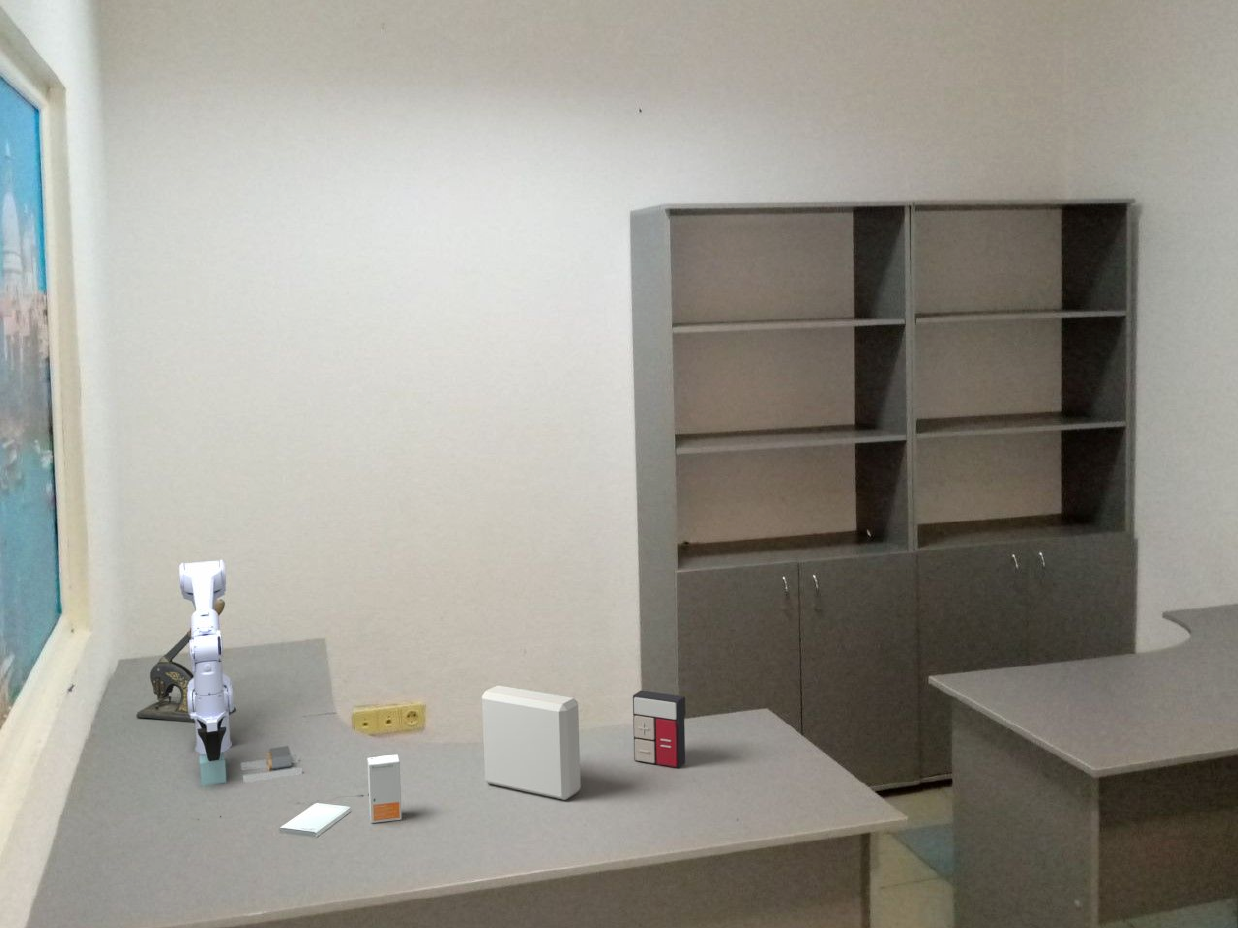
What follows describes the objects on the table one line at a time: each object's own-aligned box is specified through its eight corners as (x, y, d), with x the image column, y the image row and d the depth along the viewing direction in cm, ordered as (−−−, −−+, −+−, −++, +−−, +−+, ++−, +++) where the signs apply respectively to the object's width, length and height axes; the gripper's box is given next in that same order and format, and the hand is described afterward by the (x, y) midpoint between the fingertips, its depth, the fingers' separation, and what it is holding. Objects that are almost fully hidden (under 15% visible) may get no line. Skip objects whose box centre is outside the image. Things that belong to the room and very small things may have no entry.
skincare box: (371, 824, 228) (368, 764, 227) (369, 815, 232) (366, 756, 231) (402, 820, 230) (400, 760, 228) (400, 811, 234) (398, 753, 232)
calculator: (632, 762, 257) (630, 695, 256) (641, 755, 261) (639, 689, 259) (678, 769, 252) (676, 701, 250) (686, 763, 256) (685, 695, 254)
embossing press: (162, 705, 305) (154, 591, 302) (242, 711, 299) (235, 595, 295) (134, 719, 295) (125, 601, 291) (216, 725, 288) (208, 605, 285)
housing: (200, 778, 251) (198, 748, 251) (225, 774, 253) (223, 745, 252) (201, 786, 247) (199, 756, 246) (226, 782, 248) (224, 752, 248)
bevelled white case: (587, 789, 243) (584, 695, 240) (565, 803, 236) (562, 706, 234) (504, 772, 253) (500, 681, 251) (481, 784, 247) (477, 691, 244)
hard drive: (316, 831, 223) (350, 805, 234) (278, 827, 225) (314, 801, 237) (316, 840, 223) (351, 813, 235) (279, 835, 225) (315, 809, 237)
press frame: (192, 778, 254) (191, 766, 254) (297, 762, 262) (296, 751, 261) (193, 798, 243) (192, 786, 243) (303, 781, 251) (302, 769, 250)
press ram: (267, 766, 257) (266, 748, 256) (289, 763, 258) (288, 745, 258) (269, 776, 251) (268, 758, 250) (292, 772, 253) (290, 754, 252)
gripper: (188, 684, 253) (192, 745, 255) (189, 704, 240) (193, 768, 241) (222, 680, 255) (226, 740, 257) (226, 699, 242) (230, 763, 244)
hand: (213, 753), depth 249 cm, fingers open, 7 cm apart
